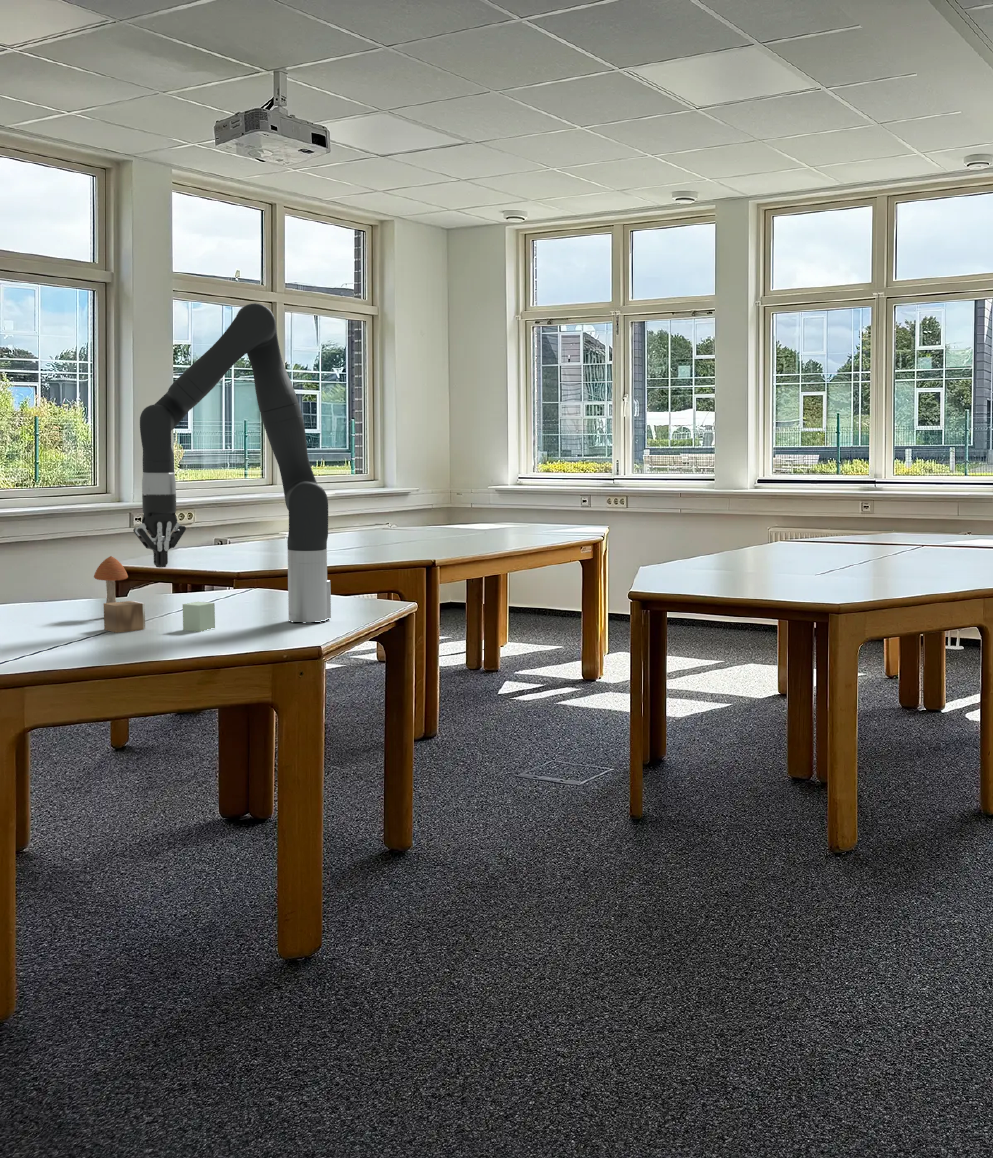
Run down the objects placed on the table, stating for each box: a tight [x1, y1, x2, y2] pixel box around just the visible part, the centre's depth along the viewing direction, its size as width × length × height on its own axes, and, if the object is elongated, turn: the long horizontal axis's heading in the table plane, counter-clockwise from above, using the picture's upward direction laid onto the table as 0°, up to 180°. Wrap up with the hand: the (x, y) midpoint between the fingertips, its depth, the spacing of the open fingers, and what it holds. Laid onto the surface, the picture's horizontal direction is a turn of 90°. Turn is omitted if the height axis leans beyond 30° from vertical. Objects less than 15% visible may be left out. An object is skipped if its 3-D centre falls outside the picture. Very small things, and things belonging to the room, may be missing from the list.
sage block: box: [182, 601, 216, 633], centre depth 269 cm, size 5×5×6 cm
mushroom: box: [93, 555, 129, 603], centre depth 286 cm, size 8×8×15 cm
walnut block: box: [103, 600, 146, 634], centre depth 268 cm, size 6×6×7 cm
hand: (160, 567), depth 274 cm, fingers closed
